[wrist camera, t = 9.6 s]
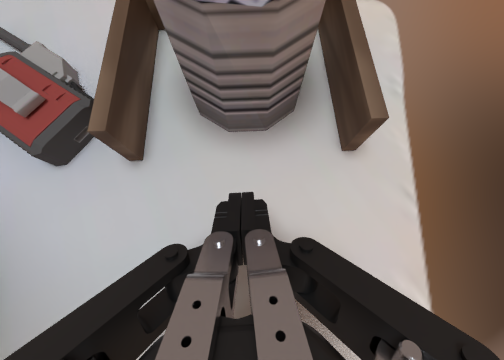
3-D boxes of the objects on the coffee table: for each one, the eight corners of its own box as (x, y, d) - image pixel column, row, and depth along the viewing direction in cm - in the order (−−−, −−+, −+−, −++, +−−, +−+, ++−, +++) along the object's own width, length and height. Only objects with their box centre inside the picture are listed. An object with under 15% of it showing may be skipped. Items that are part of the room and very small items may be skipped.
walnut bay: (124, 160, 19) (81, 131, 14) (145, 22, 24) (118, -33, 19) (359, 149, 19) (395, 117, 14) (329, 14, 24) (347, -43, 19)
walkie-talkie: (139, 109, 21) (11, 31, 25) (110, 75, 17) (-40, -13, 20) (73, 179, 19) (-57, 83, 22) (21, 160, 15) (-130, 45, 18)
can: (325, 92, 21) (411, -93, 10) (234, 157, 19) (204, 21, 8) (254, 27, 24) (255, -175, 12) (168, 77, 22) (74, -110, 10)
